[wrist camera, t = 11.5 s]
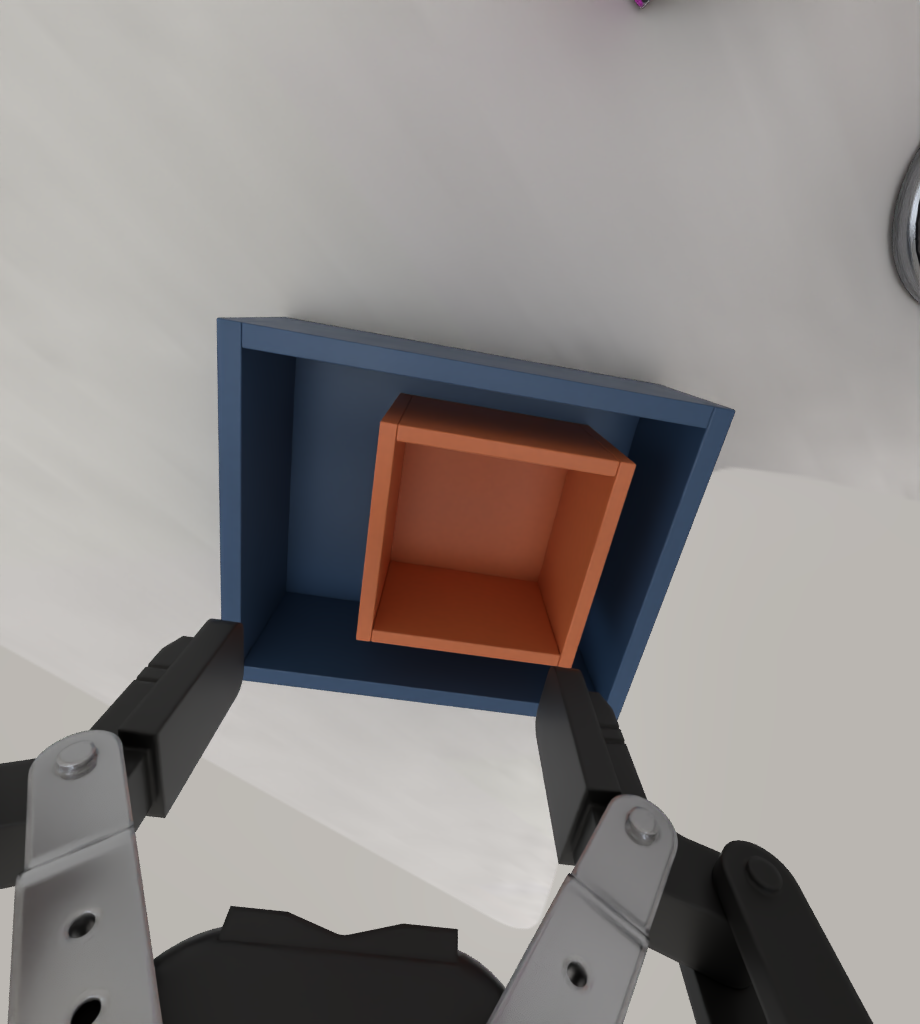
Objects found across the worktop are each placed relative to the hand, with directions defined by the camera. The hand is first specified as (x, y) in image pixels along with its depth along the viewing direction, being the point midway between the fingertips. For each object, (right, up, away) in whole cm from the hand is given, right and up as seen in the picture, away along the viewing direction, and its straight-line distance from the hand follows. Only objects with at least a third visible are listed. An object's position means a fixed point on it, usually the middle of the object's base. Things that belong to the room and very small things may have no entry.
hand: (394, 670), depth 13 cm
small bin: (+3, +5, +12) cm, 13 cm away
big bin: (+1, +5, +12) cm, 13 cm away
